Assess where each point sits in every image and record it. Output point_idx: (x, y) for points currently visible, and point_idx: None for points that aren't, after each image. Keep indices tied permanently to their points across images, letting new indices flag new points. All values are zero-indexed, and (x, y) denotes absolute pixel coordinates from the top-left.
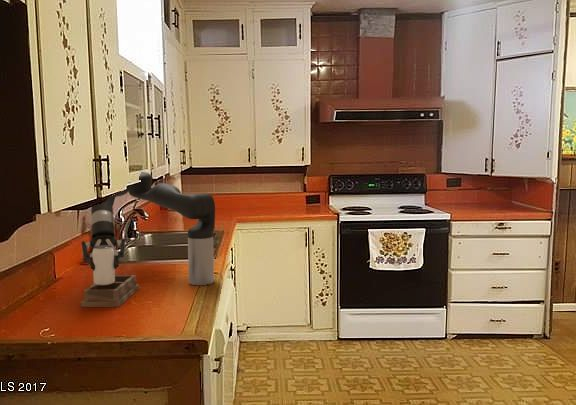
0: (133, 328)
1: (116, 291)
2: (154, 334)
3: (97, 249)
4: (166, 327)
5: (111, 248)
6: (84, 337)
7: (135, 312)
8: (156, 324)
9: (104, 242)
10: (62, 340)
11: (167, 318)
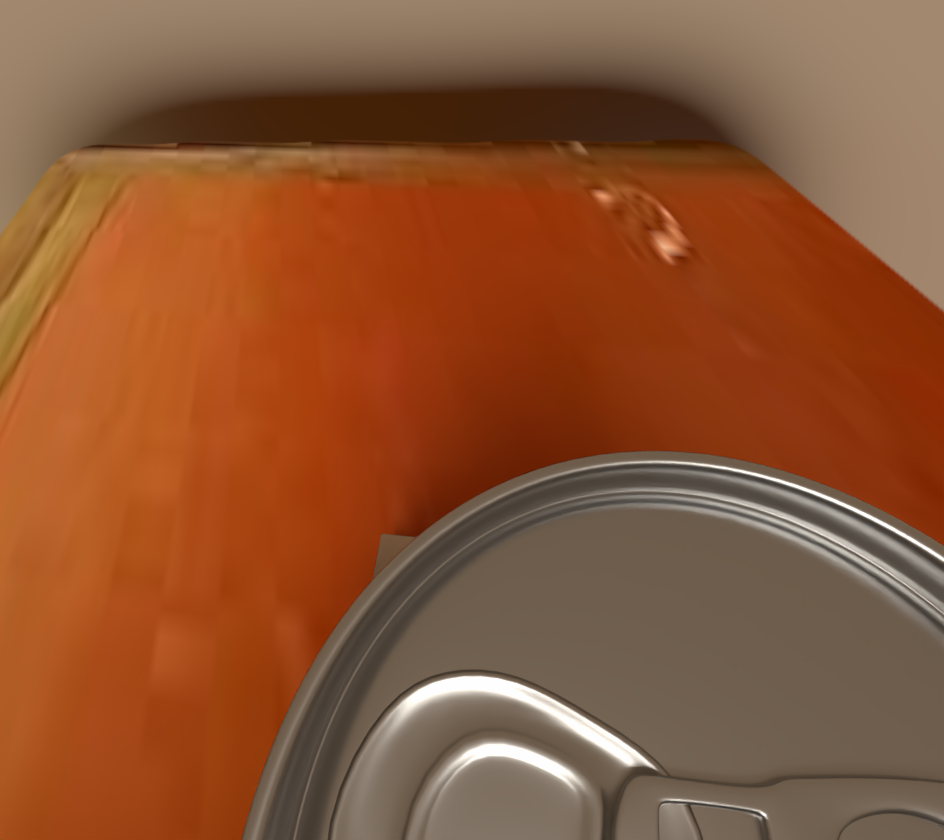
0: (291, 233)
1: (388, 535)
2: (216, 184)
3: (775, 494)
4: (160, 235)
5: (285, 793)
6: (468, 174)
7: (282, 423)
8: (194, 264)
9: None
10: (540, 158)
11: (132, 324)
